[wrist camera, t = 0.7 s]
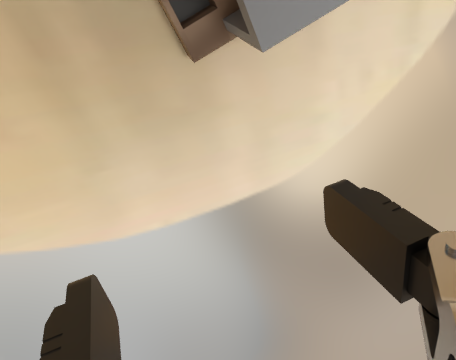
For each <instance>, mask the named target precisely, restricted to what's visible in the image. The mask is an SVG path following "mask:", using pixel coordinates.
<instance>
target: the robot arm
mask: <svg viewBox="0 0 456 360" xmlns="http://www.w3.org/2000/svg"><path fill="white" fill-rule="evenodd" d="M323 193H324V210H325V223H326V227H327V229H328V231H329V233H330V235H331V236H332V237H333V238H334V239H335V240H336V241H337V242H338V243H339V244H340V245H341V246H342V247H343V248H344V249H345V250H346V251H347V252H348V253H349V254H350V255H351V256H352V257H353V258H354V259H355V260H356V261H357V262H358V263H359V264H361V265H362V266H363V267H364V268H365V269H366V270H367V271H368V272H369V273H370V274H371V275H372V276H373V277H374V278H375V279H376V280H377V281H378V282H379V283H380V284H381V285H382V286H383V287H384V288H385V289H386V290H387V291H388V292H389V293H390V294H392V295H393V297H395V298H396V299H397V300H398V301H399V302H400V303H403V302H405V301H408V300H410V299H411V298H415V299H416V300H417V301H418V302H419V314H420V319H421V325H422V330H423V337H424V342H425V348H426V353H427V359H428V360H456V231H445V232H439V231H437V230H436V229H435V228H433V227H431V226H430V225H429V224H427V223H425V222H424V221H422V220H421V219H419V218H418V217H416V216H415V215H413V214H412V213H410V212H409V211H407V210H406V209H404V208H401V207H400V206H399V205H398V204H396V203H395V202H391V200H390V199H389V198H387V197H386V196H384V195H382V194H381V193H379V192H377V191H374V190H370V189H367V188H361V189H360V188H358V187H357V186H356V185H354V184H353V183H351V182H350V181H348V180H341V181H339V182H337V183H334V184H331V185H328V186H326V187H325V188H324V191H323ZM40 360H121V351H120V338H119V326H118V320H117V316H116V313H115V310H114V308H113V306H112V304H111V302H110V300H109V299H108V297H107V295H106V293H105V291H104V289H103V288H102V286H101V284H100V282H99V281H98V279H97V277H96V276H95V275H90V276H88V277H85V278H83V279H80V280H77V281H75V282H72V283H69V284H68V286H67V292H66V302H65V304H63V305H60V306H58V307H55V308H54V310H53V312H52V313H51V315H50V317H49V319H48V320H47V322H46V324H45V328H44V335H43V344H42V348H41V358H40Z"/></svg>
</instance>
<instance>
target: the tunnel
mask: <svg viewBox="0 0 456 360" xmlns="http://www.w3.org/2000/svg"><path fill="white" fill-rule="evenodd" d="M347 1H349V0H237V3H238V5H239V8H240V9H239V10H237V11H235V12H234V13H232V14H231V15H229V16H227V17H226V18H224V19H222V20H223V22H224V24H225V26H226V29H227V30H228V31H229V32H231V33H233V34H234V35H236V36H237V37H239V38H240V39H242V40H244V41H245V42H247V43H248V44H250V45H252V46H253V47H255V48H256V49H258V50H260V51H261V52H265V51H266V50H268V49H270V48H271V47H273V46H275V45H276V44H278V43H279V42H281V41H283V40H284V39H286V38H288V37H289V36H291V35H293V34H294V33H296V32H298V31H299V30H301V29H303V28H304V27H306V26H308V25H309V24H311V23H312V22H314V21H316V20H317V19H319V18H321V17H322V16H324V15H326V14H327V13H329V12H331V11H332V10H334V9H336V8H337V7H339V6H340V5H342V4H344V3H345V2H347Z"/></svg>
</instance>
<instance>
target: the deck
mask: <svg viewBox="0 0 456 360" xmlns="http://www.w3.org/2000/svg"><path fill="white" fill-rule="evenodd" d="M159 2H160V4H161V6H162V8H163V10H164V12H165V13H166V15H167V17H168V19H169V21H170V23H171V25H172V27H173V28H174V30H175V32H176V34H177V36H178V38H179V40H180V41H181V43H182V45H183V47H184V49H185V51H186V53H187V55H188V56H189V57H190V58H191V59H192V61H193V62H194V63H195V62H196V61H198V60H200V59H201V58H203V57H205V56H206V55H208V54H209V53H211V52H213V51H214V50H216V49H218V48H219V47H221V46H223V45H224V44H226V43H228V42H229V41H231V40H233V39H234V38H236V37H237V36H236V35H234V34H233V33H231V32H229V31H228V30H227V29H226V26H225V24H224V22H223V20H222V19H224V18H226V17H227V16H229V15H231V14H232V13H234V12H235V11H237V10H239V9H240V8H239V5H238V3H237V0H159Z"/></svg>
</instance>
